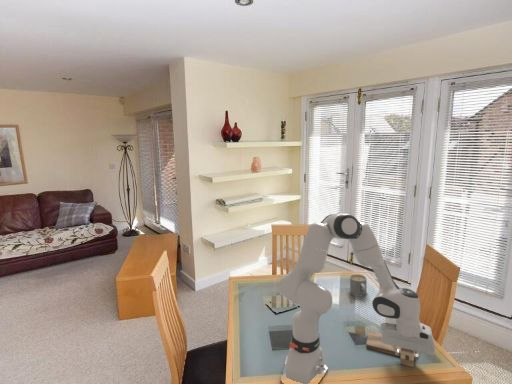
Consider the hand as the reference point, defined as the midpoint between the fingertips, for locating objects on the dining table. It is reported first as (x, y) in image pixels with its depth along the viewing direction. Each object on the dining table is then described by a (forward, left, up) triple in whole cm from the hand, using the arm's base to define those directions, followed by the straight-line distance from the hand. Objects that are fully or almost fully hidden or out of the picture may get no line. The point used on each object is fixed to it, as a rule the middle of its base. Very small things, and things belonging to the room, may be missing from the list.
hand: (407, 356), depth 124 cm
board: (+8, +7, -3) cm, 11 cm away
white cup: (+26, +7, -3) cm, 27 cm away
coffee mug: (+55, +28, -3) cm, 61 cm away
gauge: (+4, 0, -2) cm, 5 cm away
